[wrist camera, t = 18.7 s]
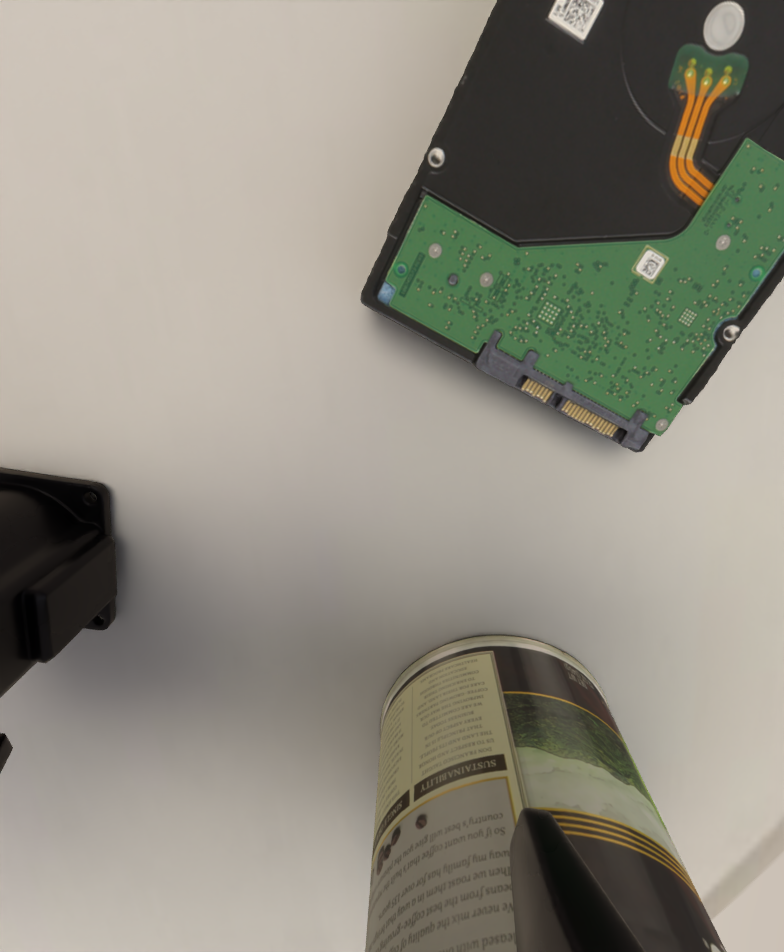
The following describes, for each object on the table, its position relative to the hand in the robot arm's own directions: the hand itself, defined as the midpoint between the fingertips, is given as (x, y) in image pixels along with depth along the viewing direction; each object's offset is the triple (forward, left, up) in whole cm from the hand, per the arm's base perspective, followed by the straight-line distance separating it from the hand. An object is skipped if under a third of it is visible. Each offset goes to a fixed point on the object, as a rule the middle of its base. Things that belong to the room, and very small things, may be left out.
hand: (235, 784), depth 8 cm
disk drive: (+7, +12, -12) cm, 19 cm away
